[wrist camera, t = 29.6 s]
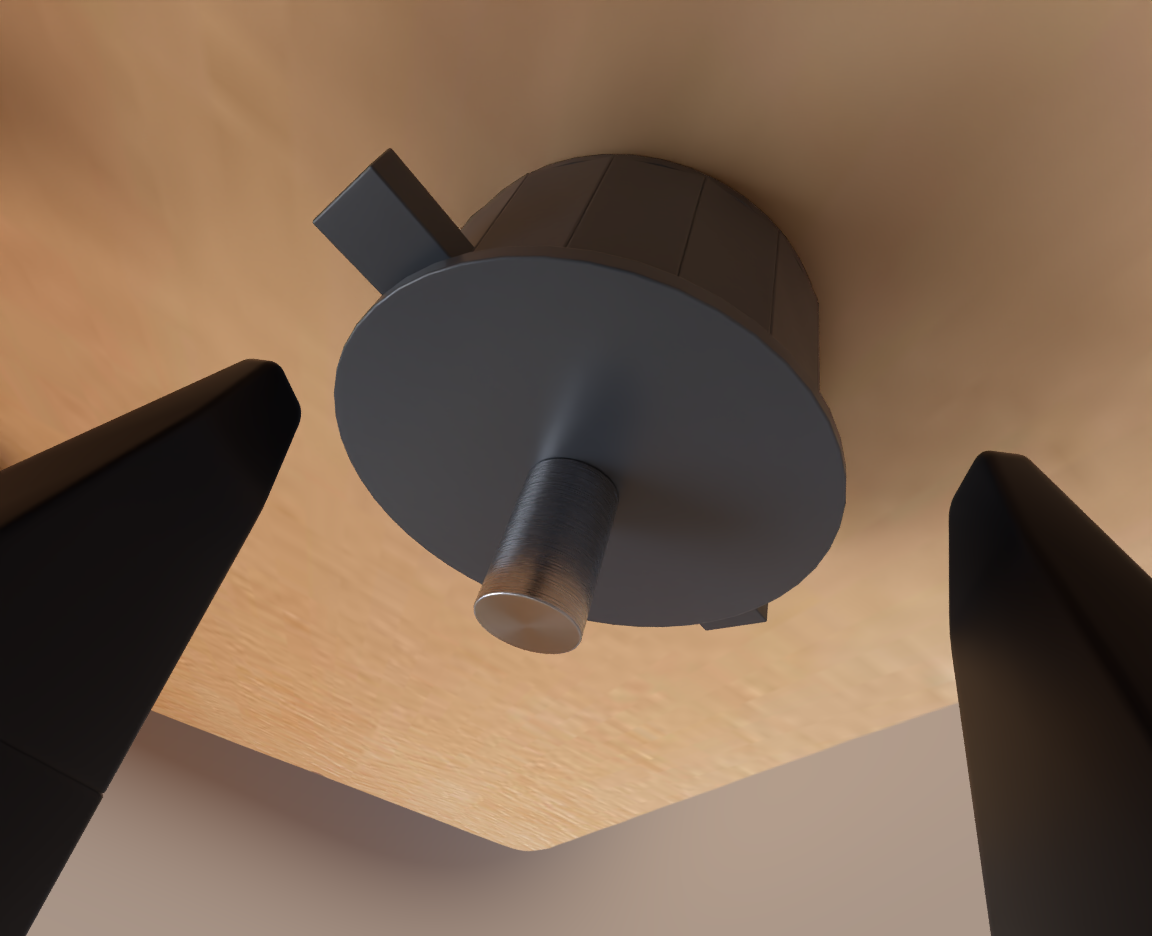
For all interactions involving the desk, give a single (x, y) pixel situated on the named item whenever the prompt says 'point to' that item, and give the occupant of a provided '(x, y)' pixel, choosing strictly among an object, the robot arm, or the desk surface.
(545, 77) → the desk surface
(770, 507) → the lid
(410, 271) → the pot
